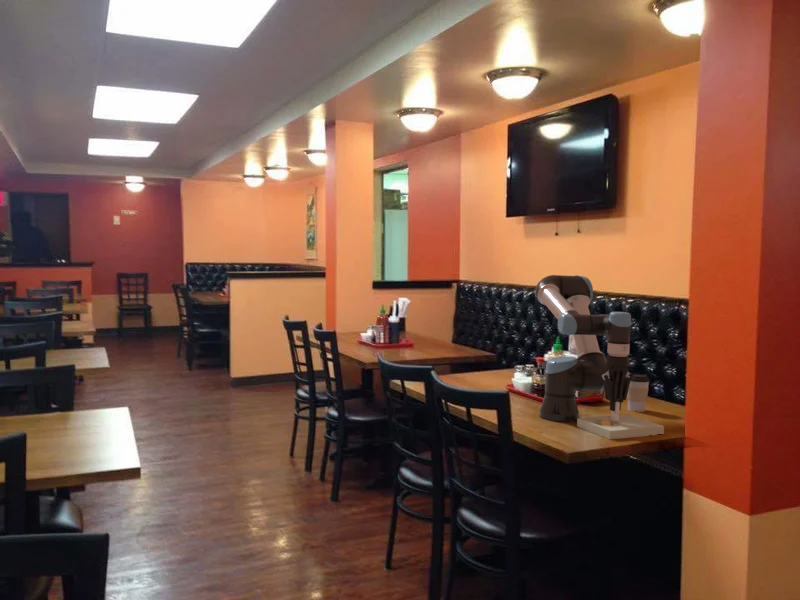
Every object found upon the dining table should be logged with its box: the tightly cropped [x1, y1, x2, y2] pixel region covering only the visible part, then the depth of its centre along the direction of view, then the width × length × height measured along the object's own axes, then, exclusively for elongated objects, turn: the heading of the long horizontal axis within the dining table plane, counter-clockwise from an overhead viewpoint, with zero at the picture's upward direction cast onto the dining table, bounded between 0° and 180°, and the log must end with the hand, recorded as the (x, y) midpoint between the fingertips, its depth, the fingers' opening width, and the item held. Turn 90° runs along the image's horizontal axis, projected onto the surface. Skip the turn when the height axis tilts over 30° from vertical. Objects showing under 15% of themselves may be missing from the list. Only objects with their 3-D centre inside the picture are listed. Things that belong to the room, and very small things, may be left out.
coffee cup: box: [626, 373, 651, 413], centre depth 272 cm, size 9×9×15 cm
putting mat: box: [576, 413, 665, 440], centre depth 238 cm, size 18×24×3 cm
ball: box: [600, 420, 611, 425], centre depth 236 cm, size 4×4×4 cm
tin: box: [578, 391, 605, 399], centre depth 285 cm, size 15×3×8 cm, turn 119°
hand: (614, 419), depth 237 cm, fingers closed
